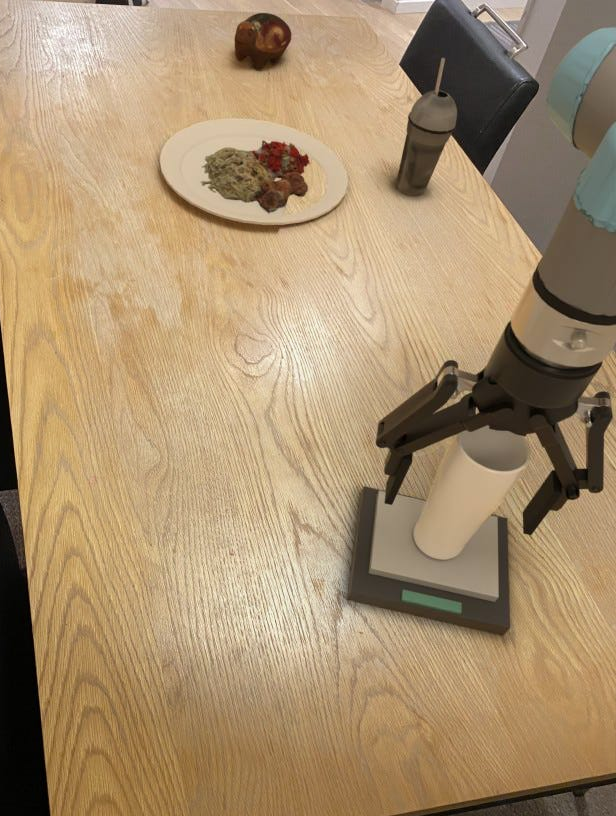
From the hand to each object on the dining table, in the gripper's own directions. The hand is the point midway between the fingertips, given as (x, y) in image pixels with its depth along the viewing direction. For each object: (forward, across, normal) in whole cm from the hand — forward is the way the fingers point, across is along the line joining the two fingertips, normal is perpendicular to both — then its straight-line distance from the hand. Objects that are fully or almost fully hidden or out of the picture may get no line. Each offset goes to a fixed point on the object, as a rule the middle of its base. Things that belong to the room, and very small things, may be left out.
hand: (457, 508), depth 74 cm
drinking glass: (+6, 0, 0) cm, 6 cm away
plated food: (+9, -31, +67) cm, 75 cm away
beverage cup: (+10, -6, +72) cm, 73 cm away
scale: (+9, 0, -1) cm, 9 cm away
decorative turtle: (+9, -37, +108) cm, 115 cm away
